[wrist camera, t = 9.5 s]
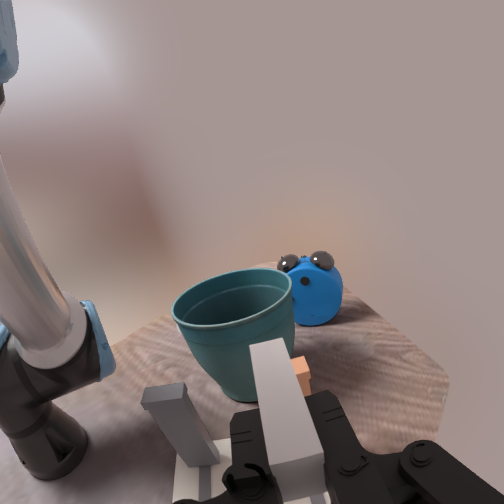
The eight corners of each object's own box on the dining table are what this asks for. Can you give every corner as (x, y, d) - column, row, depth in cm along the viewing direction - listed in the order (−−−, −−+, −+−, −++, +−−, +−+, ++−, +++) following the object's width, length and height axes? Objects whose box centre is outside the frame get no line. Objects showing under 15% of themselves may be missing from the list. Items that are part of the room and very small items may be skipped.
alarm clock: (345, 309, 62) (337, 244, 58) (344, 325, 57) (336, 255, 52) (288, 313, 67) (274, 251, 63) (282, 329, 62) (266, 263, 57)
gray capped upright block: (187, 454, 31) (145, 387, 27) (220, 450, 31) (184, 381, 27) (186, 468, 29) (140, 403, 25) (221, 465, 29) (181, 397, 25)
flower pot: (244, 340, 61) (222, 265, 56) (325, 355, 50) (311, 267, 45) (185, 396, 47) (147, 314, 42) (273, 431, 37) (243, 336, 32)
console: (186, 456, 34) (173, 438, 33) (327, 428, 35) (325, 408, 33) (181, 539, 21) (164, 527, 19) (358, 510, 21) (360, 496, 20)
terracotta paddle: (281, 439, 31) (259, 367, 27) (316, 430, 31) (303, 355, 28) (284, 454, 29) (262, 383, 25) (321, 444, 29) (309, 370, 25)
